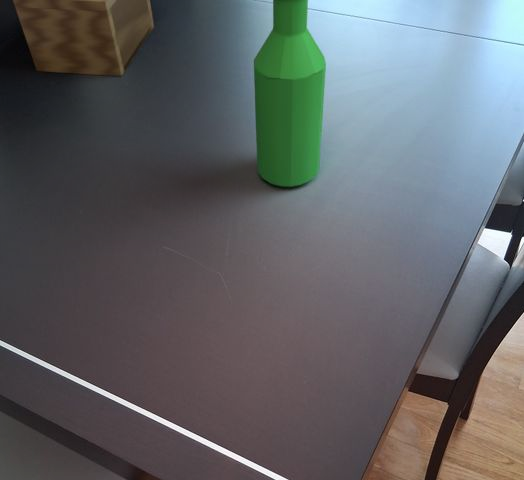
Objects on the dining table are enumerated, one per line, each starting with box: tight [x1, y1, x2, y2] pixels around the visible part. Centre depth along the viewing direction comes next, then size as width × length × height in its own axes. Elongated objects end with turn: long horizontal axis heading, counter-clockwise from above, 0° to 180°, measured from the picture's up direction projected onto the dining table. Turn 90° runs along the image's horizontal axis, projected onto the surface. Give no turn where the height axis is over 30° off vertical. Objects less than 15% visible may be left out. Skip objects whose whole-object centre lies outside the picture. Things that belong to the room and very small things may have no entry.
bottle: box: [253, 0, 327, 188], centre depth 71 cm, size 9×9×25 cm
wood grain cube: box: [12, 0, 155, 77], centre depth 102 cm, size 16×20×12 cm
